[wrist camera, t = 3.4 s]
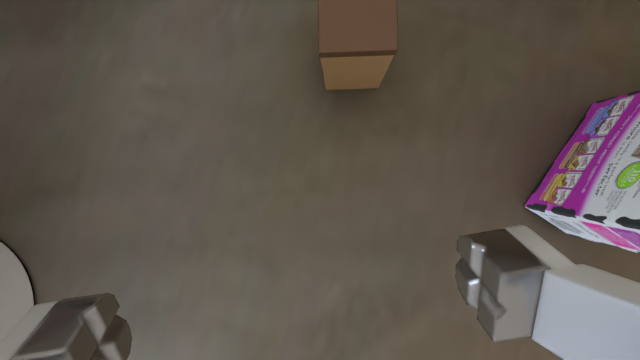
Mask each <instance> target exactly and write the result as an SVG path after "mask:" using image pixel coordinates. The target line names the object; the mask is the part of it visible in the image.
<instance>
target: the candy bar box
mask: <svg viewBox="0 0 640 360" xmlns="http://www.w3.org/2000/svg"><path fill="white" fill-rule="evenodd" d="M525 207H526V208H527V209H529V210H530V211H532V212H534V213H535V214H537V215H538V216H540V217H542V218H543V219H545V220H546V221H548V222H549V223H551V224H553V225H554V226H556V227H557V228H559V229H560V230H562V231H563V232H565V233H567V234H569V235H571V236H575V237H579V238H582V239H587V240H591V241H595V242H598V243H602V244H606V245H610V246H614V247H618V248H622V249H626V250H629V251H633V252H637V253H640V90H639V91H636V92H631V93H627V94H624V95H620V96H616V97H613V98H609V99H606V100H602V101H598V102H594V103H593V104H592V105H591V107H590V108H589V110H588V111H587V113H586V114H585V116H584V117H583V119H582V120H581V122H580V123H579V125H578V126H577V128H576V129H575V131H574V133H573V134H572V136H571V137H570V139H569V140H568V142H567V143H566V145H565V146H564V148H563V149H562V151H561V152H560V154H559V155H558V157H557V158H556V160H555V161H554V163H553V164H552V166H551V167H550V169H549V170H548V171H547V173H546V175H545V176H544V177H543V179H542V180H541V182H540V183H539V185H538V186H537V188H536V189H535V191H534V192H533V194H532V195H531V197H530V198H529V200H528V201H527V203H526V204H525Z"/></svg>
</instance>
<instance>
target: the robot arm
mask: <svg viewBox="0 0 640 360" xmlns="http://www.w3.org/2000/svg"><path fill="white" fill-rule="evenodd" d="M457 252H458V253H459V254H460V255H461V257H462V258H461V259H460V260H459V262H458V263H457V264H456V274H455V277H456V281H457V286H458V289H459V291H460V293H461V296H462V297H463V299H464V300H465V302H466V303H467V305H469V306H471V307H473V308H475V309H477V310H478V314H477V320H478V321H479V322H480V324H481V325H482V327H483V328H484V330H485V331H486V332H487V334H488V335H489V337H490V338H491V340H492V341H493V343H495V342H501V341H508V340H515V339H521V338H528V337H532V339H533V340H534V341H536V342H537V343H539V344H540V345H542V346H544V347H545V348H547V349H548V350H550V351H551V352H553V353H554V354H556V355H558V356H559V357H561V358H562V359H564V360H640V283H639V282H636V281H633V280H630V279H627V278H624V277H621V276H618V275H615V274H612V273H609V272H606V271H603V270H600V269H597V268H594V267H591V266H588V265H585V264H578V265H575V264H574V263H573V262H572V261H570V260H569V259H568V258H567V257H565V256H564V255H563V254H561V253H560V252H559V251H558V250H556V249H555V248H554V247H553V246H551V245H550V244H549V243H548V242H546V241H545V240H544V239H542V238H541V237H540V236H539V235H537V234H536V233H535V232H534V231H532V230H531V229H530V228H529V227H527V226H524V225H521V224H520V225H515V226H510V227H504V228H500V229H498V230H492V231H486V232H480V233H474V234H468V235H462V236H459V239H458V241H457ZM119 307H120V306H119V304H118V302H117V300H116V298H115V296H114V295H112V294H109V293H104V294H97V295H90V296H83V297H76V298H69V299H63V300H56V301H50V302H43V303H39V304H37V305H35V306H34V299H33V292H32V287H31V284H30V281H29V278H28V275H27V273H26V271H25V269H24V267H23V266H22V264H21V262H20V261H19V260H18V258H17V257H16V256H15V255H14V253H13V252H12V251H11V250H10V249H9V248H8V247H7V246H5V245H4V244H3V243H2V242H0V360H127V358H128V356H129V354H130V349H131V341H132V337H131V331H130V327H129V325H128V323H127V321H126V320H125V319H123V318H121V317H120V316H118V315H116V314H117V312H118V309H119Z"/></svg>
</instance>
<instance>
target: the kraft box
mask: <svg viewBox="0 0 640 360" xmlns="http://www.w3.org/2000/svg"><path fill="white" fill-rule="evenodd" d="M318 31H319V56H320V58H321V63H322V69H323V75H324V81H325V88H326V90H343V89H374V88H379V86H380V84H381V82H382V80H383V78H384V76H385V73H386V71H387V69H388V67H389V65H390V63H391V61H392V58H393V56H394V55H395V54H396V52H397V50H398V18H397V0H318Z"/></svg>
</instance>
